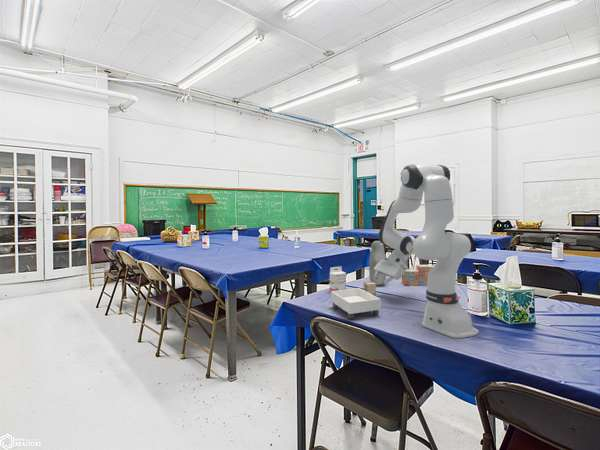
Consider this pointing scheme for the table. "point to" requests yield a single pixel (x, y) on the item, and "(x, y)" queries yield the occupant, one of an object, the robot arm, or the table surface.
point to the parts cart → (355, 301)
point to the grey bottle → (376, 261)
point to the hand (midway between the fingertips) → (379, 280)
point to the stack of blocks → (416, 276)
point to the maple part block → (370, 287)
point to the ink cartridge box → (337, 279)
